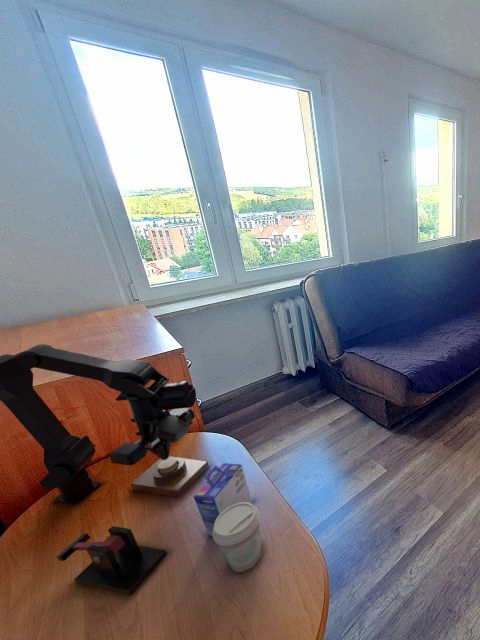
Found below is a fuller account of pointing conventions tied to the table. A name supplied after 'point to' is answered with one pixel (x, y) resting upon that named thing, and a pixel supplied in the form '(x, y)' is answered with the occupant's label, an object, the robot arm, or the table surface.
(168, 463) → the bell button
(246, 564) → the coffee cup
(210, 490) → the ink cartridge box
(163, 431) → the robot arm
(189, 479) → the bell block
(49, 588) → the table surface
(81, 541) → the red lever handle
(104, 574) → the lever stand
